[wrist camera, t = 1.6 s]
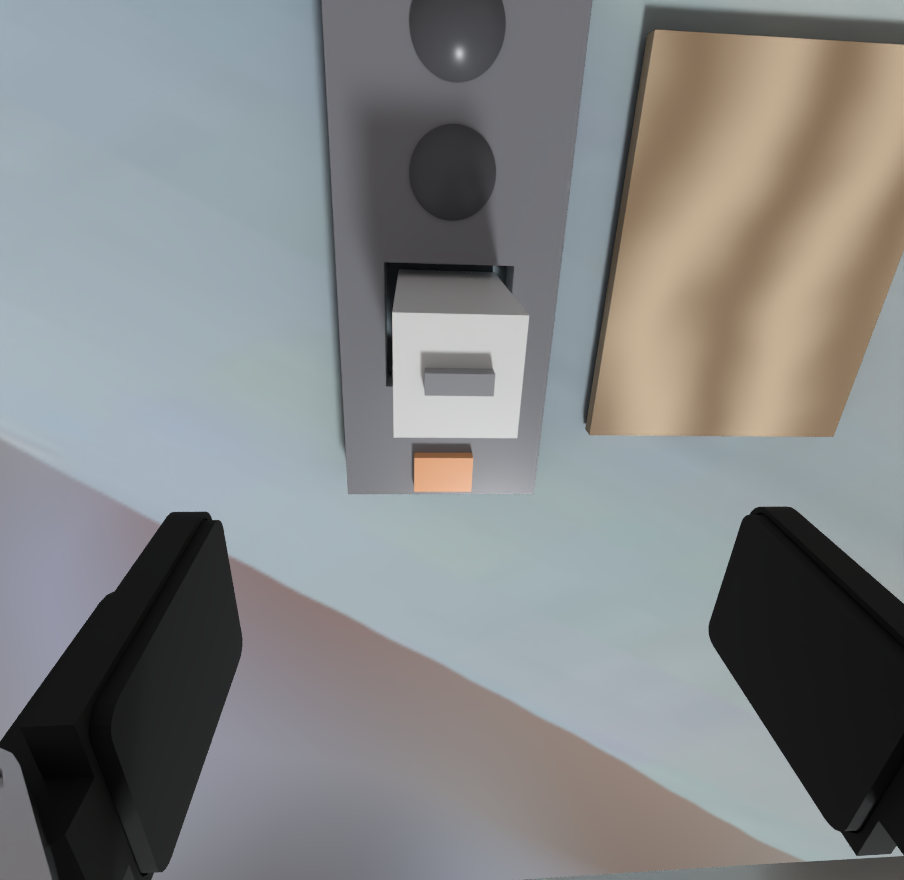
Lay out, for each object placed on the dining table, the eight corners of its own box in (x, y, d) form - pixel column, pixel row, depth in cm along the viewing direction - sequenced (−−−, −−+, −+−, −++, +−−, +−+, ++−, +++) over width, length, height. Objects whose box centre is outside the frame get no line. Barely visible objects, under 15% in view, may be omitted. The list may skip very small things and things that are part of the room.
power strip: (586, -66, 21) (608, -96, 19) (527, 475, 32) (535, 499, 29) (324, -85, 20) (312, -118, 18) (351, 475, 31) (346, 500, 29)
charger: (494, 271, 27) (532, 319, 18) (488, 363, 29) (519, 445, 20) (398, 269, 26) (391, 316, 18) (399, 361, 28) (392, 444, 20)
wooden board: (962, 53, 24) (979, 49, 23) (823, 430, 32) (833, 436, 31) (647, 34, 23) (655, 29, 22) (585, 428, 31) (589, 435, 30)
